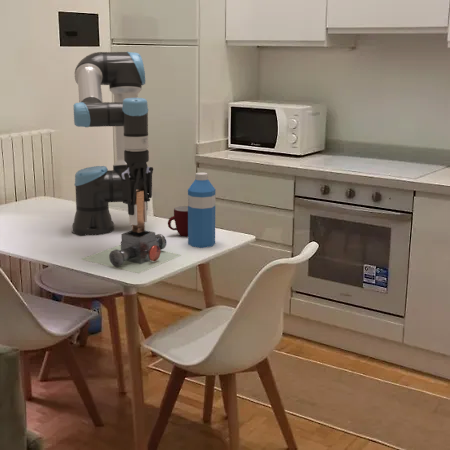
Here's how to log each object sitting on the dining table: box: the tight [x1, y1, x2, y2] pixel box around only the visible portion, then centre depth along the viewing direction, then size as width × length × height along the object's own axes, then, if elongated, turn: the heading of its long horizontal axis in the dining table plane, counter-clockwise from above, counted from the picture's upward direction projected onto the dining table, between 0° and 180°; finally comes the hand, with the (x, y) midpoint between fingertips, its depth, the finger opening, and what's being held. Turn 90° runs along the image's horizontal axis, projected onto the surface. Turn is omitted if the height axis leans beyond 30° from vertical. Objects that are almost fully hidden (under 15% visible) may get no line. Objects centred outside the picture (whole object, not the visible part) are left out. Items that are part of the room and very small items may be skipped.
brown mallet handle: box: [131, 189, 146, 233], centre depth 216 cm, size 4×4×13 cm
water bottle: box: [187, 172, 217, 249], centre depth 234 cm, size 9×9×25 cm
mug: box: [167, 205, 188, 238], centre depth 246 cm, size 10×8×10 cm
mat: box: [80, 244, 182, 274], centre depth 222 cm, size 24×22×1 cm
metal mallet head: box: [109, 229, 167, 267], centre depth 219 cm, size 11×22×8 cm, turn 147°
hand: (138, 222), depth 217 cm, fingers closed on brown mallet handle, 4 cm apart
